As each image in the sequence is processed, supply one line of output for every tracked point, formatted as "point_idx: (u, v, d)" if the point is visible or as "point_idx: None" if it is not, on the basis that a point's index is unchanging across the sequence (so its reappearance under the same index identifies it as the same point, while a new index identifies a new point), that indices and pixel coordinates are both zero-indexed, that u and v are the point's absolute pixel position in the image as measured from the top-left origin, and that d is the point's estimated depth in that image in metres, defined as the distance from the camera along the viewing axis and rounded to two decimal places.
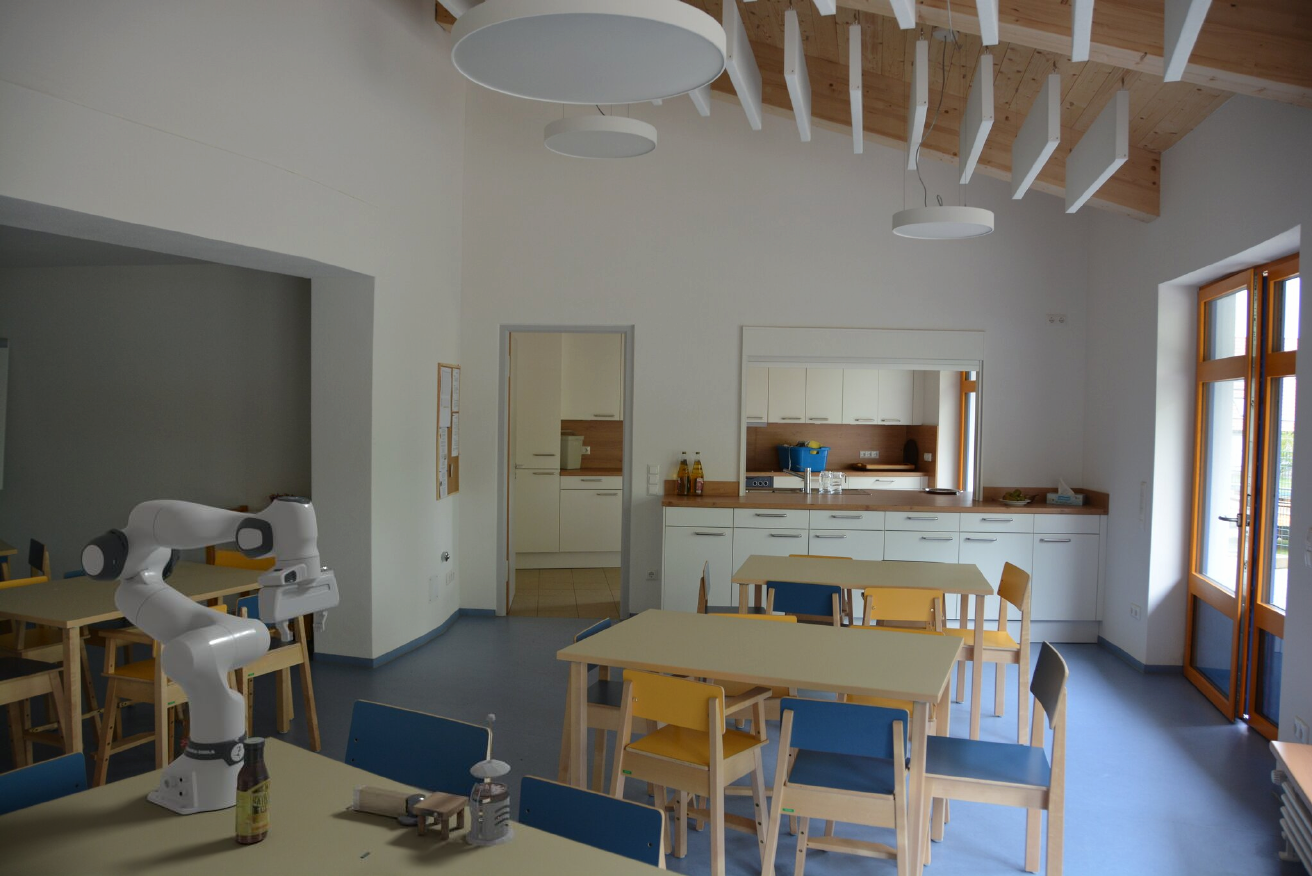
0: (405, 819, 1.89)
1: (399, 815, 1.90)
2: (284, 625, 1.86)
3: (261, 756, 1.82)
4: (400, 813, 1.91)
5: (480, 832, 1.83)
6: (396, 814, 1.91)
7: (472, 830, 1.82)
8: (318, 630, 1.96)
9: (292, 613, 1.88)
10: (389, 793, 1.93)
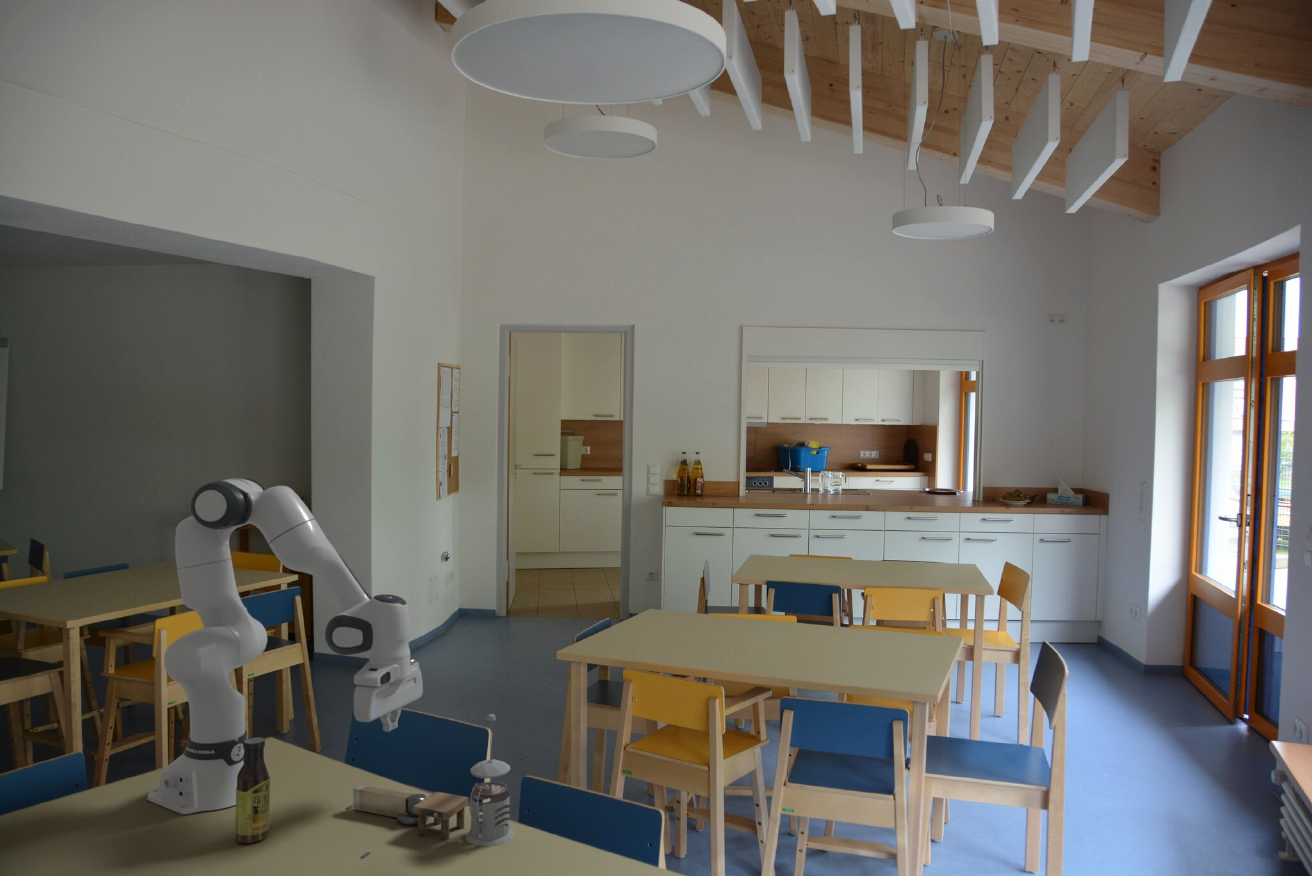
0: (405, 819, 1.89)
1: (399, 815, 1.90)
2: (387, 717, 1.98)
3: (261, 756, 1.82)
4: (400, 813, 1.91)
5: (480, 832, 1.83)
6: (396, 814, 1.91)
7: (472, 830, 1.82)
8: None
9: (383, 711, 1.96)
10: (389, 793, 1.93)
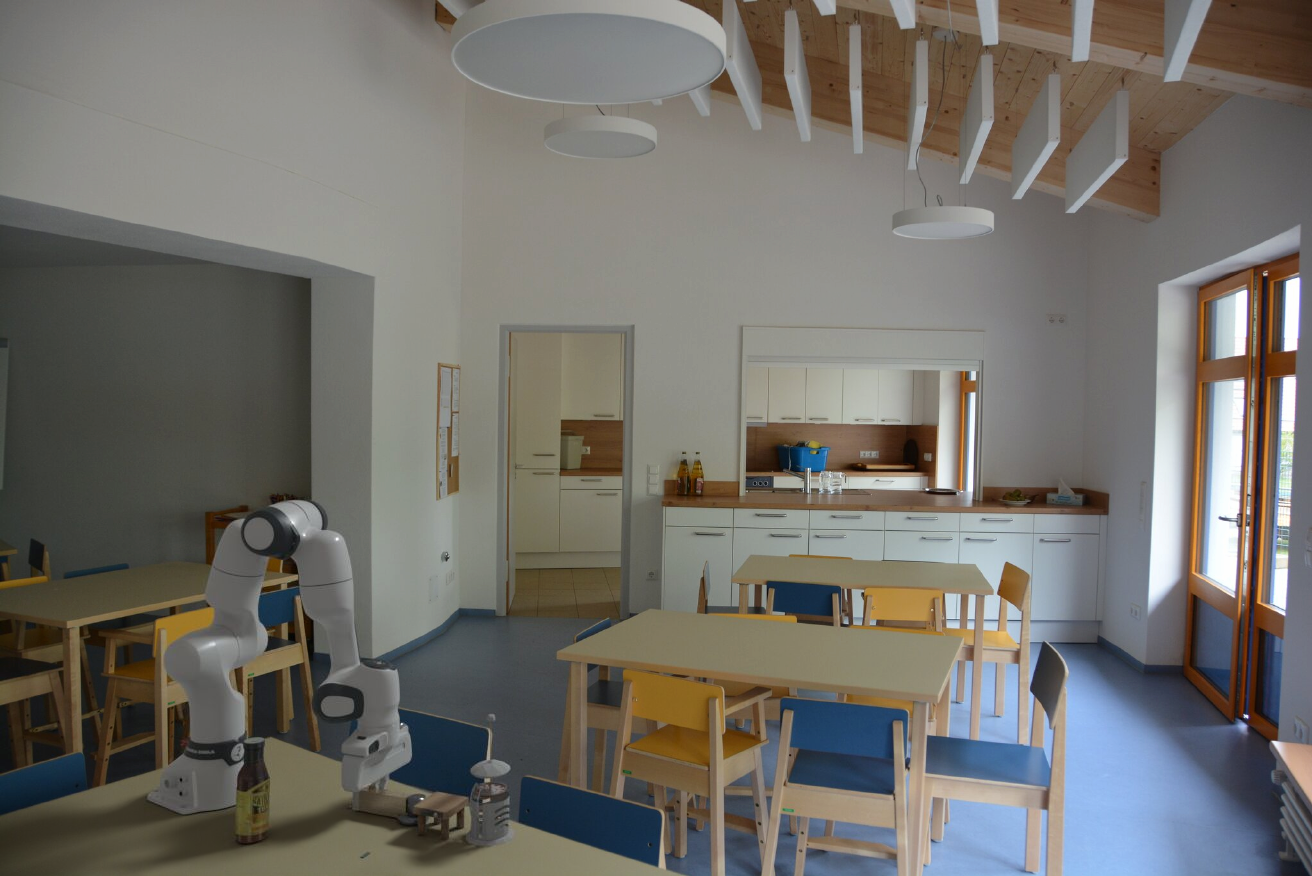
0: (405, 819, 1.89)
1: (399, 815, 1.90)
2: (376, 785, 1.95)
3: (261, 756, 1.82)
4: (400, 813, 1.91)
5: (480, 832, 1.83)
6: (396, 814, 1.91)
7: (472, 830, 1.82)
8: None
9: (371, 780, 1.93)
10: (389, 793, 1.93)
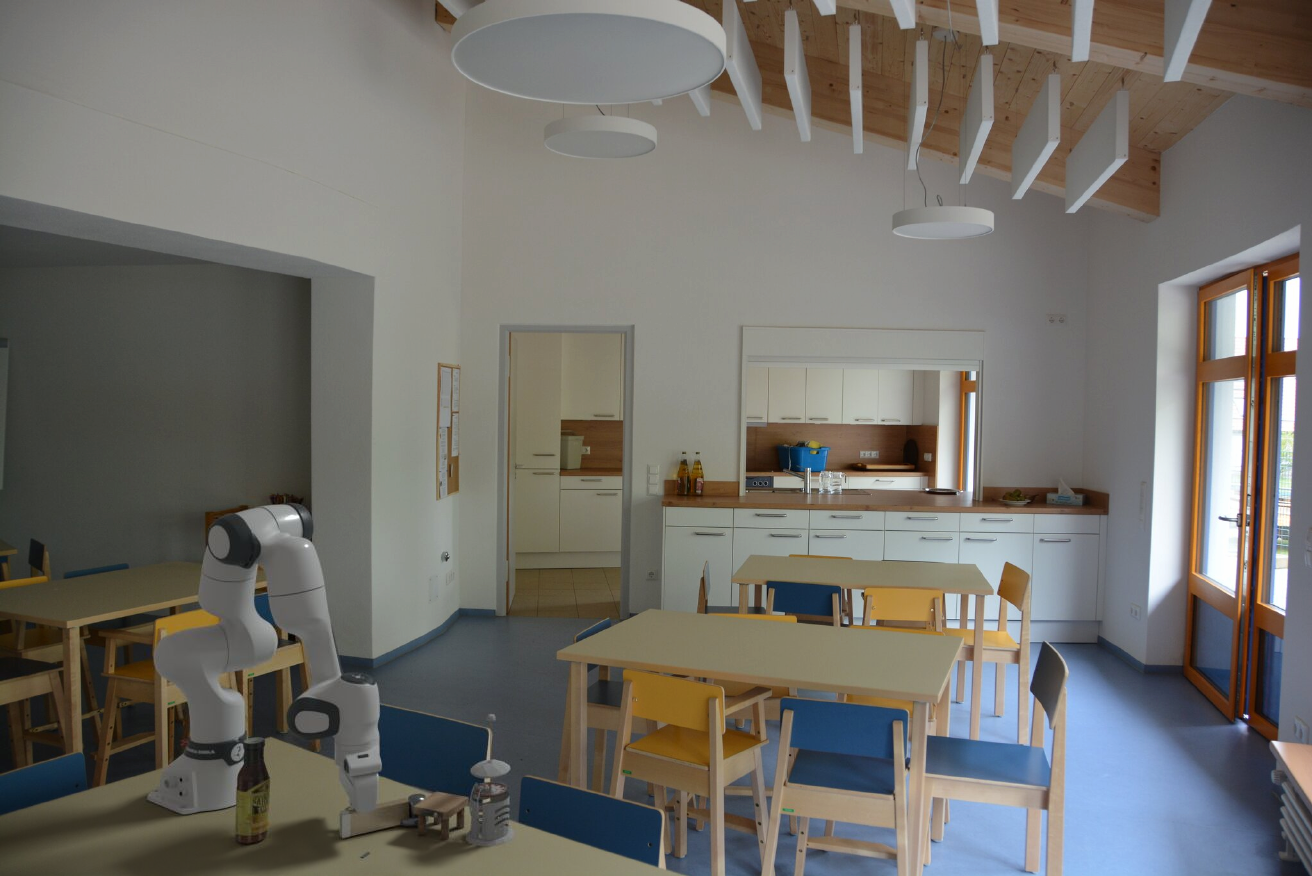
0: (416, 820, 1.88)
1: (404, 820, 1.88)
2: None
3: (261, 756, 1.82)
4: (403, 819, 1.88)
5: (480, 832, 1.83)
6: (397, 822, 1.88)
7: (472, 830, 1.82)
8: None
9: None
10: (385, 805, 1.87)
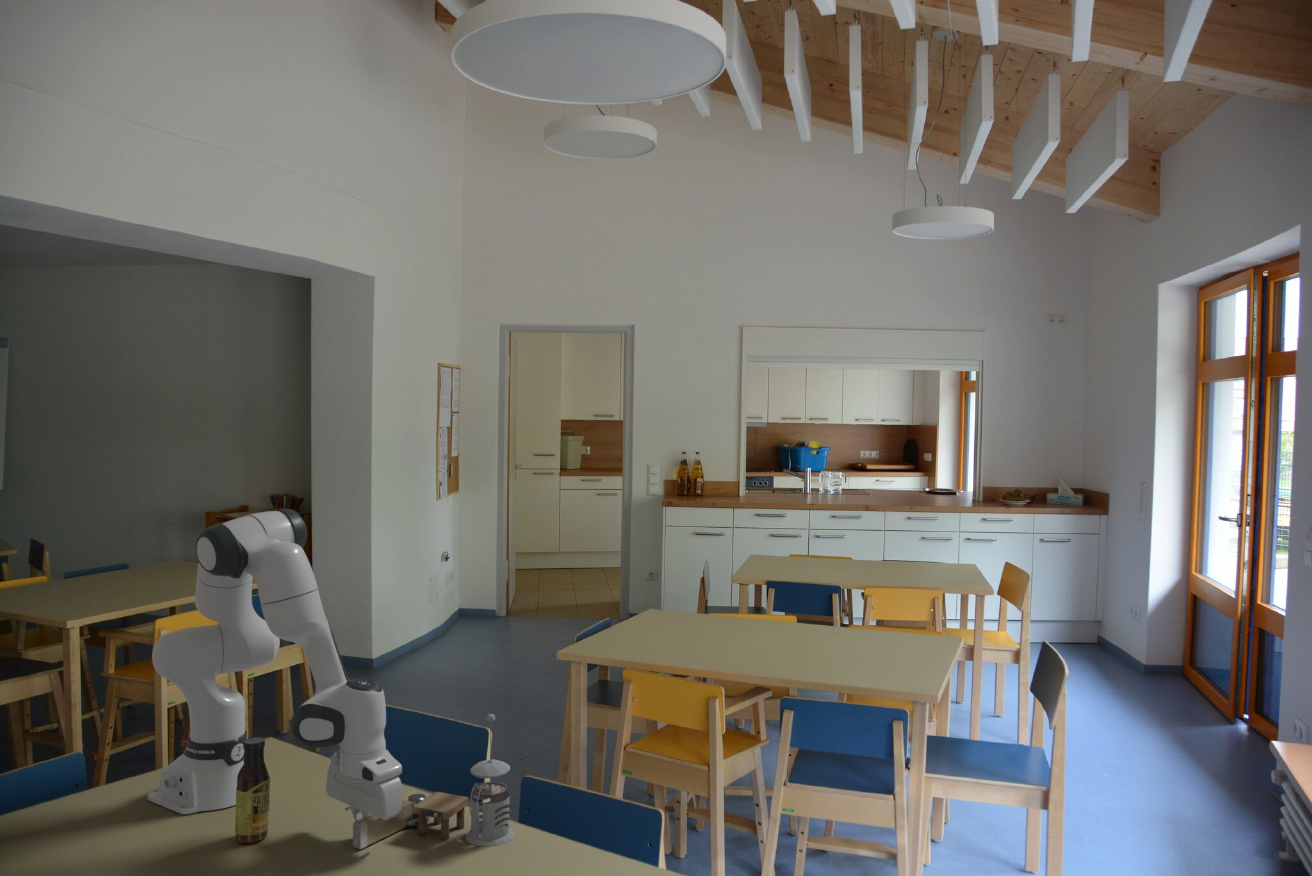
0: None
1: (411, 821, 1.87)
2: None
3: (261, 756, 1.82)
4: (408, 820, 1.88)
5: (480, 832, 1.83)
6: (404, 824, 1.87)
7: (472, 830, 1.82)
8: None
9: None
10: None
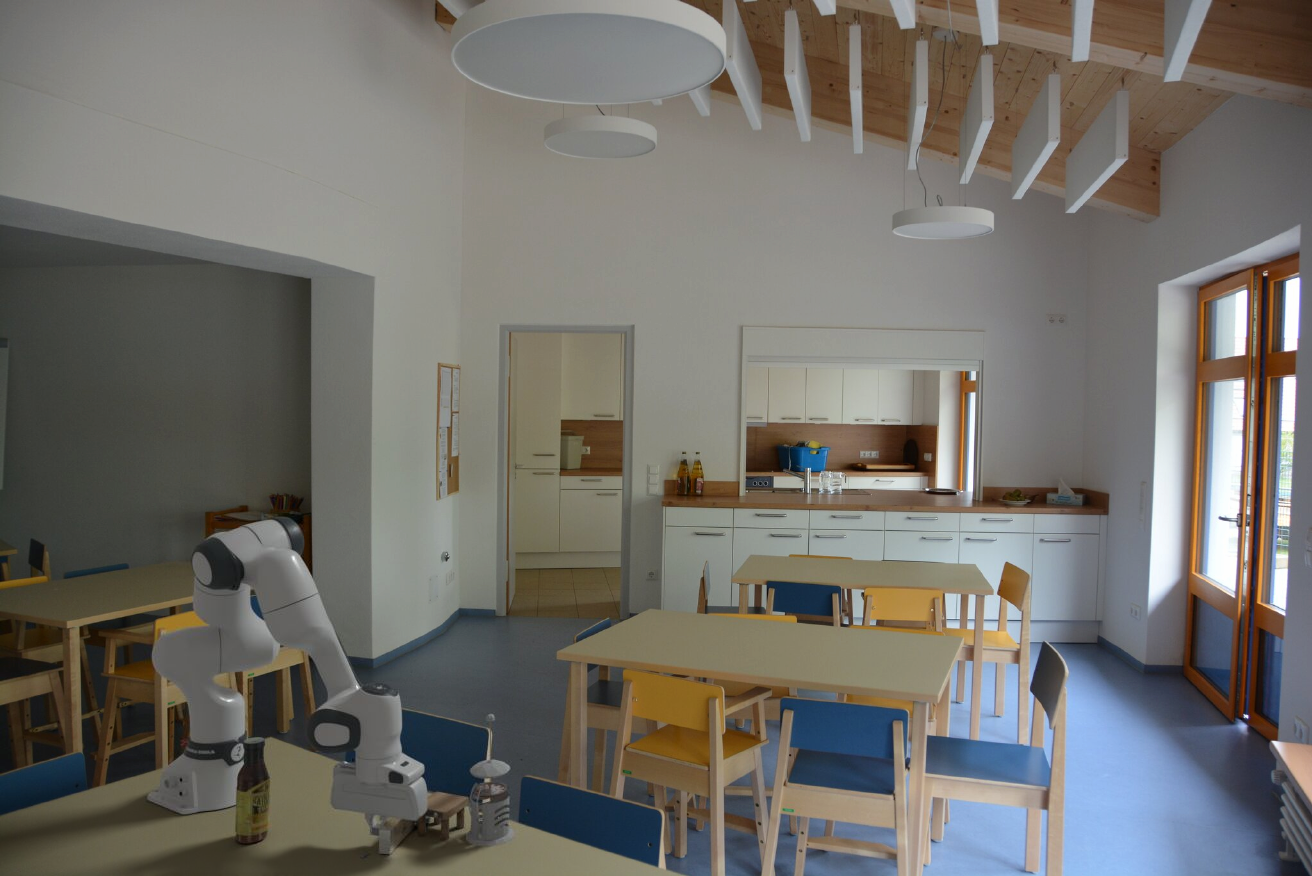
0: (427, 817, 1.90)
1: None
2: None
3: (261, 756, 1.82)
4: None
5: (480, 832, 1.83)
6: (413, 825, 1.86)
7: (472, 830, 1.82)
8: None
9: None
10: None
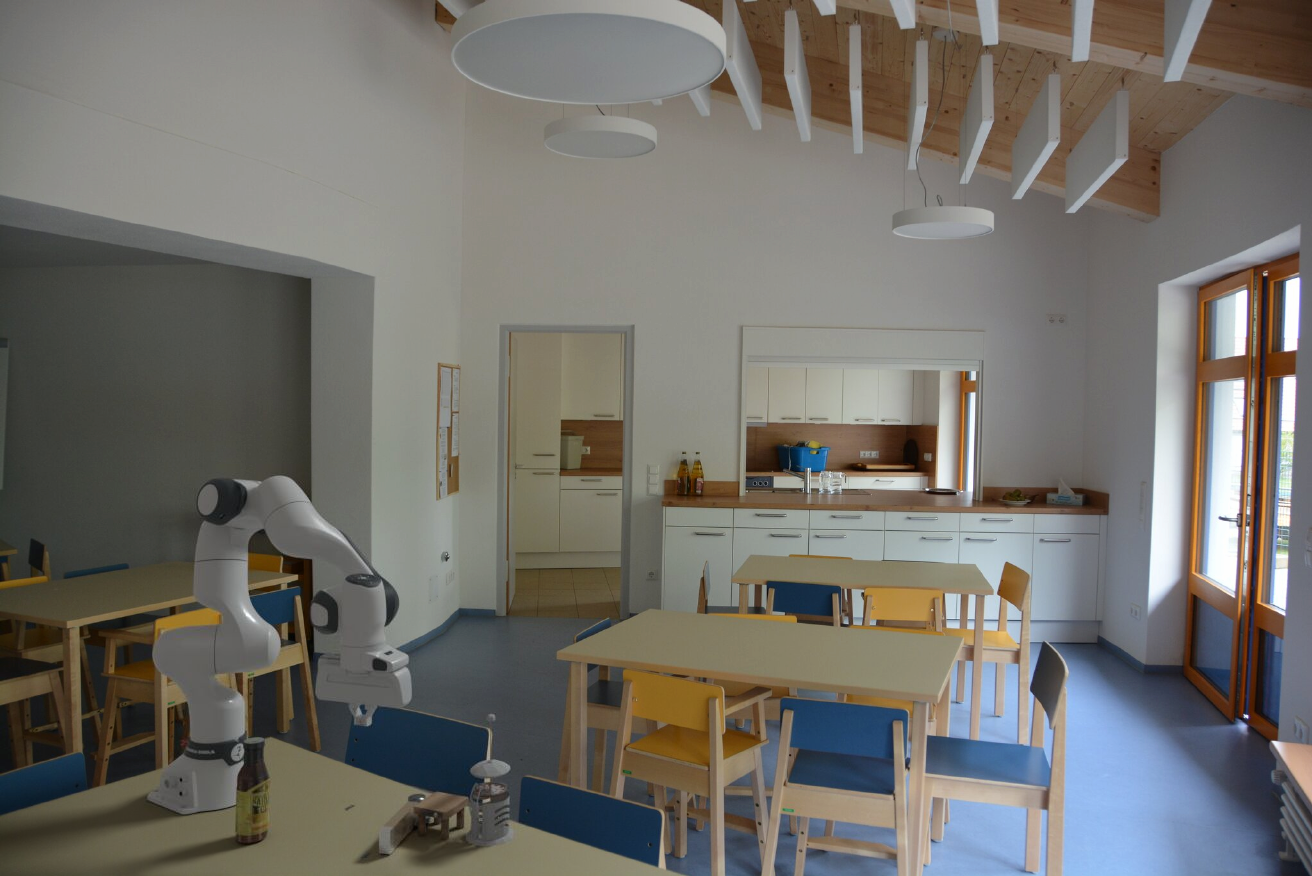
0: (427, 817, 1.90)
1: None
2: None
3: (261, 756, 1.82)
4: (415, 820, 1.88)
5: (480, 832, 1.83)
6: (413, 825, 1.86)
7: (472, 830, 1.82)
8: None
9: None
10: (405, 811, 1.84)
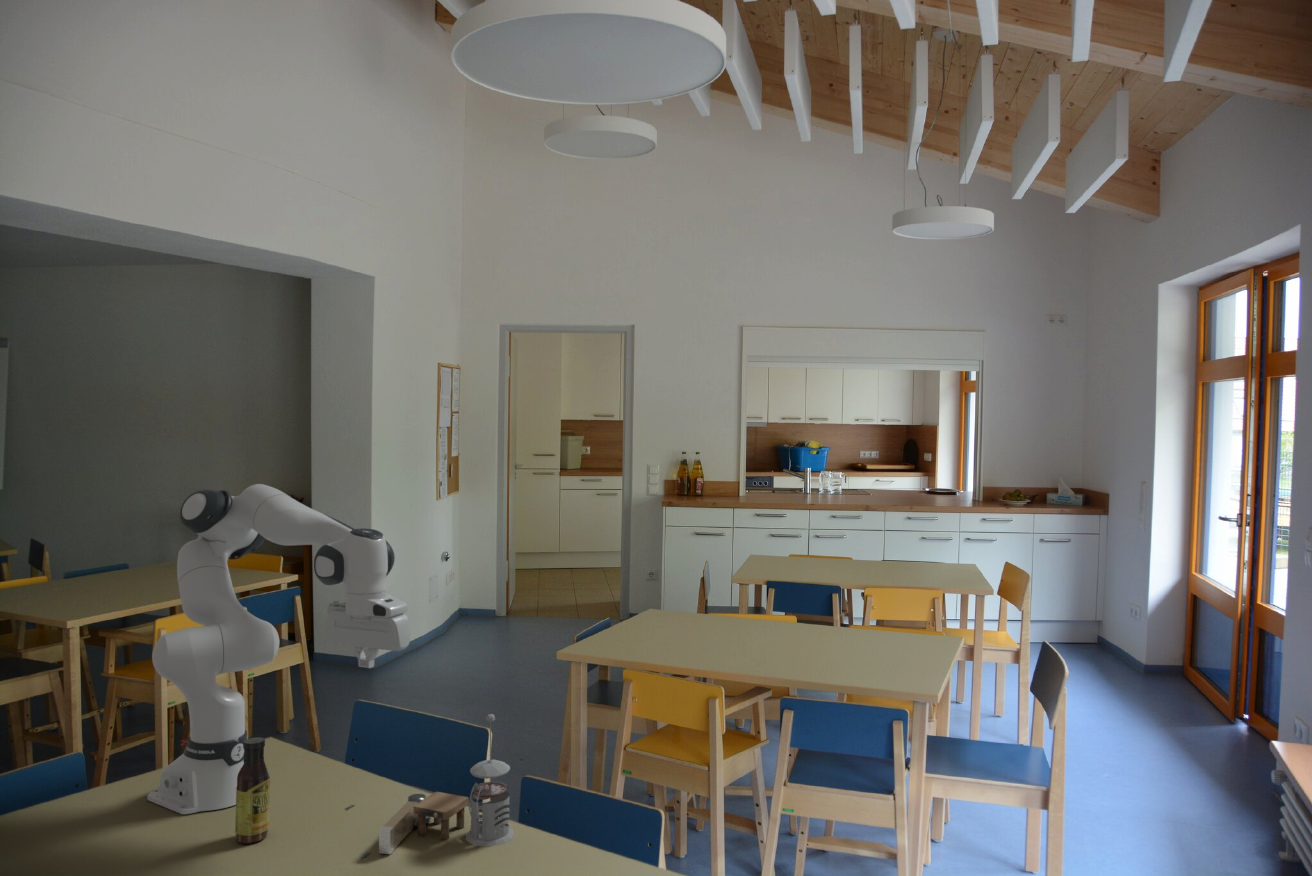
0: (427, 817, 1.90)
1: None
2: None
3: (261, 756, 1.82)
4: (415, 820, 1.88)
5: (480, 832, 1.83)
6: (413, 825, 1.86)
7: (472, 830, 1.82)
8: None
9: None
10: (405, 811, 1.84)
